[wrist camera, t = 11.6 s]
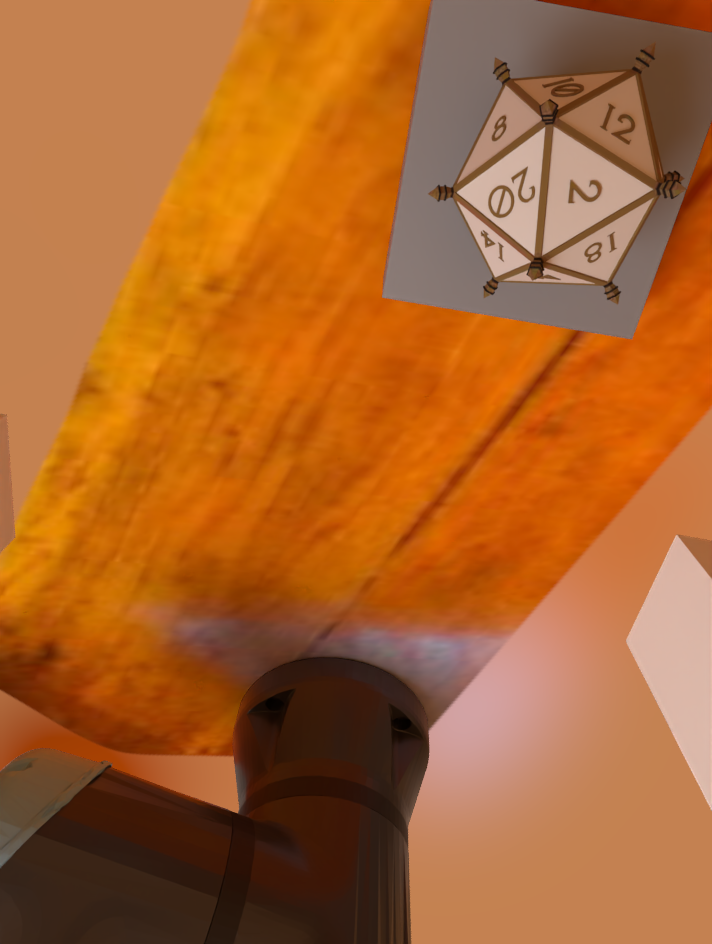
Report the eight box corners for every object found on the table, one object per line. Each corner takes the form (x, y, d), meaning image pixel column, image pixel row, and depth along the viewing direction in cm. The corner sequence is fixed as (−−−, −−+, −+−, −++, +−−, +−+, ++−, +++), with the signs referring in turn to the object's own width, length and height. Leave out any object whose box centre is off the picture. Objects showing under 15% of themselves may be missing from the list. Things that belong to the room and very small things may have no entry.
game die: (514, 220, 31) (465, 377, 27) (439, 51, 26) (361, 214, 21) (721, 163, 26) (702, 347, 21) (683, -68, 20) (647, 117, 16)
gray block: (601, 313, 35) (631, 339, 30) (383, 277, 34) (382, 297, 30) (688, 53, 29) (741, 38, 25) (429, 6, 29) (436, -18, 24)
